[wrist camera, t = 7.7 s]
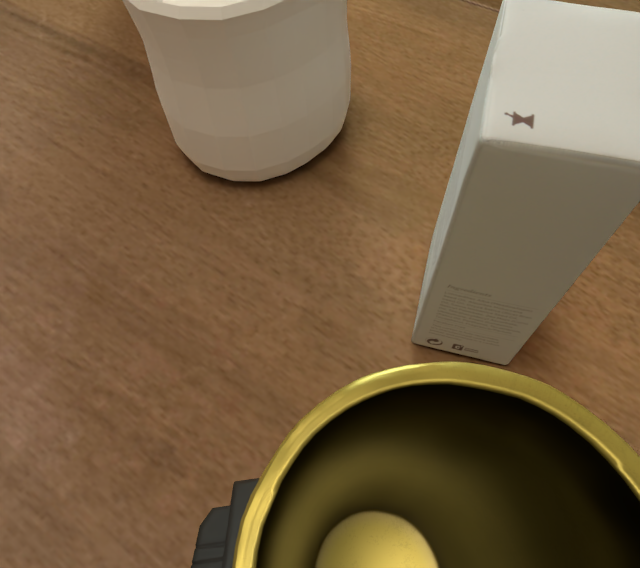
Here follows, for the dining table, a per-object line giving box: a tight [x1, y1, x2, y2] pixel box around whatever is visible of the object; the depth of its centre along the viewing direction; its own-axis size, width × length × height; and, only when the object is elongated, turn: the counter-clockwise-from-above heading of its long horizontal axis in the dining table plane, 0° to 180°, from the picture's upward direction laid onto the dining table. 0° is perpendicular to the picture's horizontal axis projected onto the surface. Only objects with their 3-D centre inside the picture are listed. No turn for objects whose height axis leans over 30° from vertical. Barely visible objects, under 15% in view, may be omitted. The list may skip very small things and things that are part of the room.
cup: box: [122, 0, 351, 181], centre depth 25 cm, size 10×10×10 cm
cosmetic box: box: [411, 0, 640, 365], centre depth 18 cm, size 6×4×12 cm
